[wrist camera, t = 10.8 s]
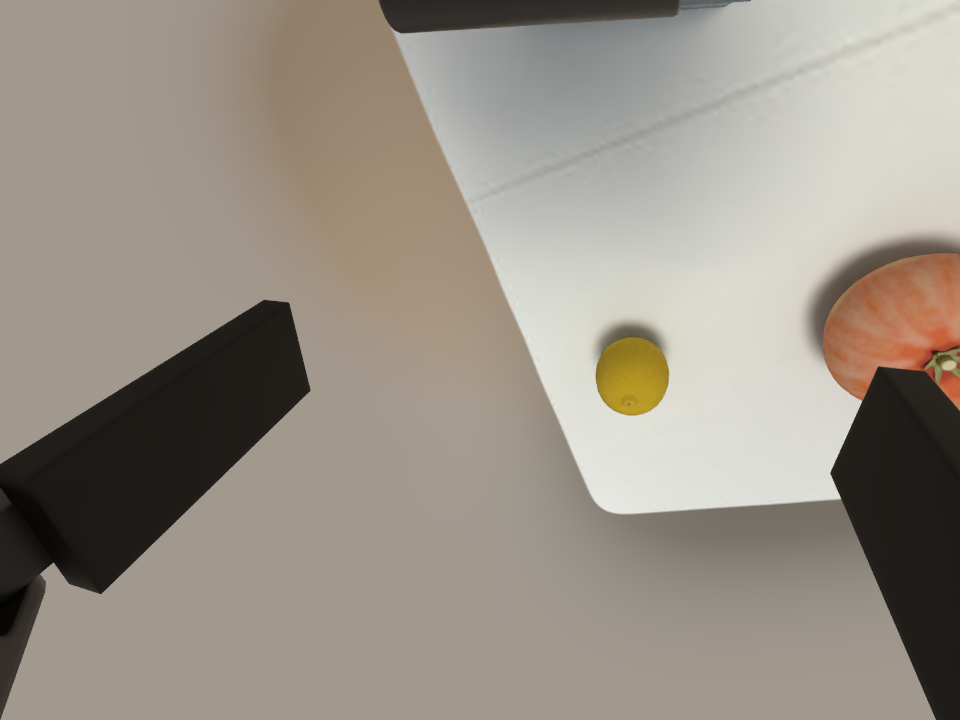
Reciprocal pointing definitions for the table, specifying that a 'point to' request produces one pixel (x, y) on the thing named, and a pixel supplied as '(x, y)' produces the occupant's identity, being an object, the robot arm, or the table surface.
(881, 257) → the table surface
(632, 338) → the lemon
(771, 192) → the table surface
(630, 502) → the table surface
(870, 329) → the orange pumpkin
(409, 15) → the lid
